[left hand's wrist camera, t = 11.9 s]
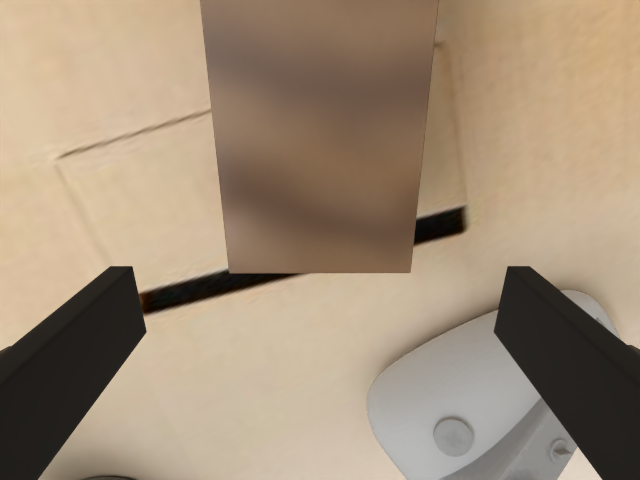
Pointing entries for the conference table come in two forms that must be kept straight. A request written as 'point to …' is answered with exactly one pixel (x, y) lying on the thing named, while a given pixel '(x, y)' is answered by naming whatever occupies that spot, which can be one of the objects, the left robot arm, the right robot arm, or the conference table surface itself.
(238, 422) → the conference table surface
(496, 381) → the projector
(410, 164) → the cabinet
